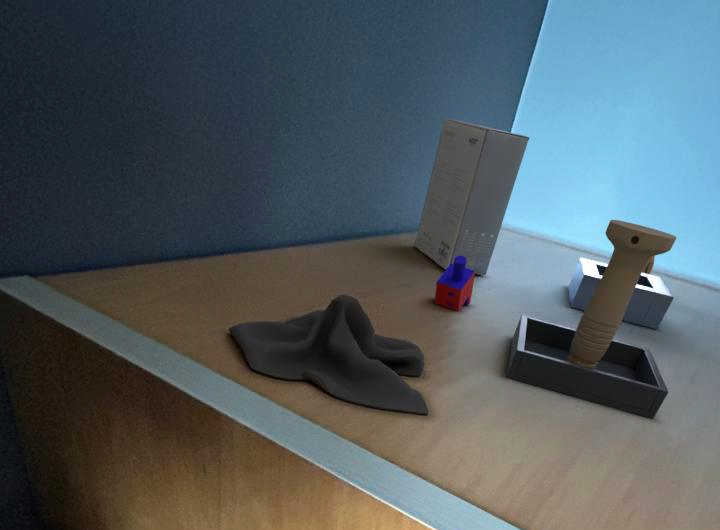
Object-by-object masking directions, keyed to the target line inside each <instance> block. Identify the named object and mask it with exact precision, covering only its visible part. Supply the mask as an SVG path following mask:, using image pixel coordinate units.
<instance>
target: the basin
mask: <svg viewBox="0 0 720 530" xmlns="http://www.w3.org/2000/svg"><path fill="white" fill-rule="evenodd" d="M576 329H577V328H576ZM576 329H575V328H572V327H569V326H565V325H561V324H557V323H554V322H550V321H546V320H542V319H538V318H536V317H532V316H527V315H524V314H521V315H520V318H519V320H518V323H517V326H516V329H515V331H514V334H513V337H512V340H511V346H510V351H509V352H510V354H509V360H508V366H507V371H506V378H508V379H511V380H515V381H518V382H522V383H525V384H530V385H533V386H535V387H540V388H543V389H547V390H550V391H553V392H557V393H560V394H565V395H568V396H571V397H575V398H579V399H582V400H586V401H588V402H593V403H597V404H599V405H603V406H607V407H610V408H614V409H617V410H621V411H625V412H628V413H632V414H635V415H639V416H642V417H645V418H650V419H654V418H655V417H656V414H657V413H658V411H659V410H660V408H661V407H662V404H663V403H664V401H665V399H666V398H667V396H668V394H669V390H668V388H667V385H666V383H665V381H664V379H663V377H662V374H661V372H660V370H659V368H658V365H657V363H656V360H655V358H654V356H653V354H652V351H651V349H650V348H647V347H643V346H639V345H636V344H632V343H629V342H625V341H621V340H617V339H614V338H613V340H612V342H611V343H610V345H609V347H608V348H607V350H606V352H605V354H604V355H603V356H602V358H601V359H600V360H599V361H597V362H598V364H597V366H596V368H595V369H592V368H588V367H584V366H581V365H577V364H573V363H570V362H566V359H567V357H568V356H570V353H571V352H570V348H571V344H572V341H573V338H574V335H575V333H576Z"/></svg>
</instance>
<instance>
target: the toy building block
mask: <svg viewBox="0 0 720 530" xmlns="http://www.w3.org/2000/svg"><path fill="white" fill-rule="evenodd" d="M465 267H466V257H464V256H457V257H455V259H454V264H452V263H451V264H450V265H449V266H448V268H447V269H446V270H445V269H444V271H443V273H442V274H441V275H440V277H439V278H438V280H437V281H436V283H435V294H434V295H435V297H434V304H435V305H439V306H441V307H445V308H448V309H450V310H454V311H457V312H459V311H460V310H461V308H462V307H463V305H464V306H466V307H468V306H469V305H470V304H471V302H472V295H473V294H472V293H473V288H474V281H475V275H476V274H475V271H474V270H470V269H467V268H465Z"/></svg>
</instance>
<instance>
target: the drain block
mask: <svg viewBox="0 0 720 530" xmlns="http://www.w3.org/2000/svg"><path fill="white" fill-rule="evenodd" d="M608 264H609V263H605V262H601V261H596V260H592V259H588V258H585V257H579V259H578V263H577V264H576V267H575V269H574V271H573V274H572V277H571V280H570V282H569V284H568V286H567V287H568V295H569V296H568V297H569V304H570V308H573V309H577V310H580V311H583V312H584V311H585V309H586V307H587V305H588V303H589V301H590V299H591V298H592V296H593V294H594V292H595V290H596V288H597V286H598V284H599V282H600V280H601V278H602V276H603V274H604V272H605V270H606V268H607V266H608ZM674 298H675V296H674V295H673V293H672V292H671V291H670V289H669V288H668V287H667V285H666V284H665V283H664V281H663V280H662V278H661V277H660V276H656V275H652V274H645V273H641V275H640V278H639V280H638V282H637V285H636V287H635V289H634V292H633V294H632V296H631V299H630V301H629V304H628V306H627V309H626V311H625V314H624V316H623V318H622V321H623V322H626V323H629V324H632V325H633V324H634V325H638V326H641V327H645V328H649V329H652V330H653V329H654V330H658V329H659V327H660V325H661V323H662V321H663V319H664V318H665V316H666V314H667V311H668V310H669V308H670V307H671V304H672V302H673V300H674ZM622 321H621V322H622Z"/></svg>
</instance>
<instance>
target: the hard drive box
mask: <svg viewBox="0 0 720 530" xmlns="http://www.w3.org/2000/svg"><path fill="white" fill-rule="evenodd" d="M443 120H444V121H443V124H442V129H441V133H440V137H439V142H438V146H437V150H436V153H435V158H434V161H433V167H432V171H431V174H430V180H429V184H428V187H427V192H426V197H425V200H424V205H423V210H422V212H421V217H420V221H419V226H418V230H417V234H416V239H415V243H414V247H415V248H417V250H419V251H420V252H421V253H422V254H424V255H425V256H427V257H428V258H429V259H430V260H432V261H433V262H435V263H436V265H438V266H439V267H441V268H443V269H444V271H445V270H446V269H447V268H448V266H449V265H450V264H451V263H452V264H454V259H455V257H457V256H464V257H466V267H465V268H467V269H470V270H474V271H475V275H481V276H486V275H487V271H488V270H489V266H490V263H491V261H492V256H493V253H494V251H495V247H496V244H497V240H498V238H499V235H500V231H501V228H502V224H503V222H504V219H505V215H506V212H507V209H508V205H509V202H510V200H511V196H512V193H513V189H514V187H515V184H516V181H517V178H518V174H519V171H520V168H521V165H522V162H523V158H524V155H525V152H526V149H527V145H528V143H529V140H530V139H531V138H530V136H526V135H522V134H518V133H514V132H510V131H506V130H502V129H499V128H493V127H489V126H483V125H480V124H477V123H470V122H466V121H461V120H456V119H451V118H445V119H443Z"/></svg>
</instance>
